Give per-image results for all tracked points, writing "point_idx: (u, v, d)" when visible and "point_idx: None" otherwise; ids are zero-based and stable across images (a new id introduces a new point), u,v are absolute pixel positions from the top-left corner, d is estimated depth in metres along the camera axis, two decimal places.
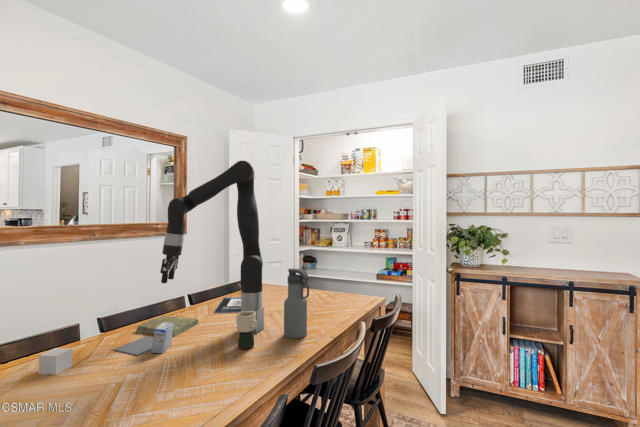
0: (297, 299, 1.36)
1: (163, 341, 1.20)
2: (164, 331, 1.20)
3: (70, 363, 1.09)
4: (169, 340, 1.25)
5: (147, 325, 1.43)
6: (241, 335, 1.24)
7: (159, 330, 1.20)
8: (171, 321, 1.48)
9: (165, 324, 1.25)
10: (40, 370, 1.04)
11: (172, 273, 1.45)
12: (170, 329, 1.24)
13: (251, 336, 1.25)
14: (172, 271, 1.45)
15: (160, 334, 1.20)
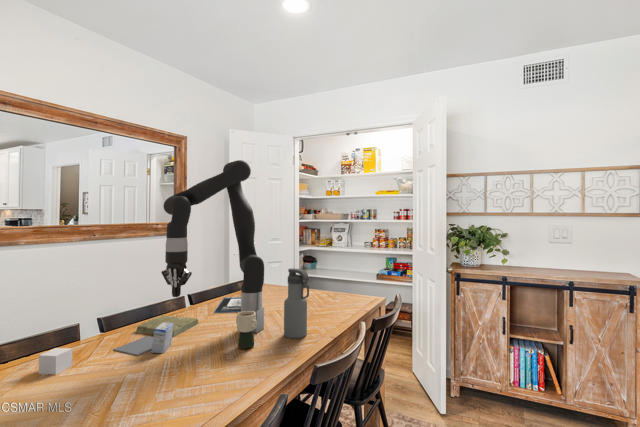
0: (297, 299, 1.36)
1: (163, 341, 1.20)
2: (164, 331, 1.20)
3: (70, 363, 1.09)
4: (169, 340, 1.25)
5: (147, 325, 1.43)
6: (241, 335, 1.24)
7: (159, 330, 1.20)
8: (171, 321, 1.48)
9: (165, 324, 1.25)
10: (40, 370, 1.04)
11: None
12: (170, 329, 1.24)
13: (251, 336, 1.25)
14: None
15: (160, 334, 1.20)
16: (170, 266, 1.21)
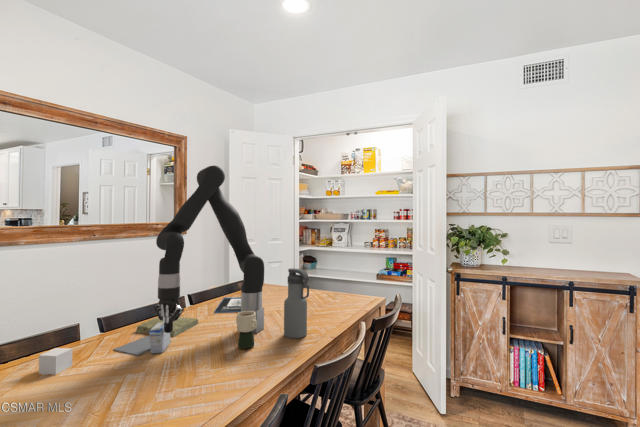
0: (297, 299, 1.36)
1: (160, 341, 1.19)
2: (159, 331, 1.19)
3: (70, 363, 1.09)
4: (167, 338, 1.25)
5: (147, 325, 1.43)
6: (241, 335, 1.24)
7: (154, 331, 1.19)
8: None
9: (160, 324, 1.24)
10: (40, 370, 1.04)
11: None
12: None
13: (251, 336, 1.25)
14: None
15: (156, 335, 1.19)
16: (162, 302, 1.21)
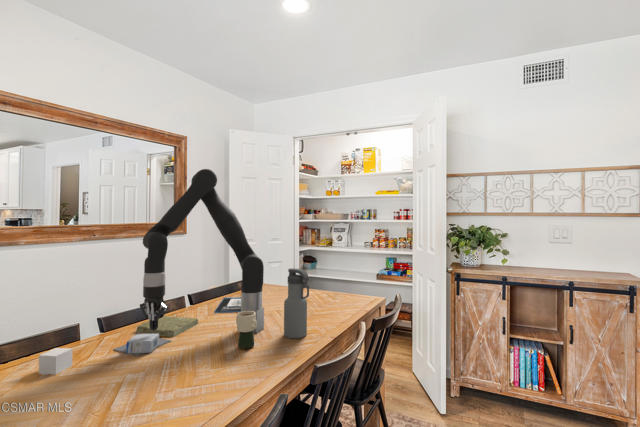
0: (297, 299, 1.36)
1: (138, 342, 1.19)
2: (127, 343, 1.19)
3: (70, 363, 1.09)
4: (149, 335, 1.24)
5: (147, 325, 1.43)
6: (241, 335, 1.24)
7: (127, 348, 1.19)
8: (171, 321, 1.48)
9: None
10: (40, 370, 1.04)
11: None
12: (136, 336, 1.23)
13: (251, 336, 1.25)
14: None
15: (131, 346, 1.19)
16: (148, 300, 1.24)
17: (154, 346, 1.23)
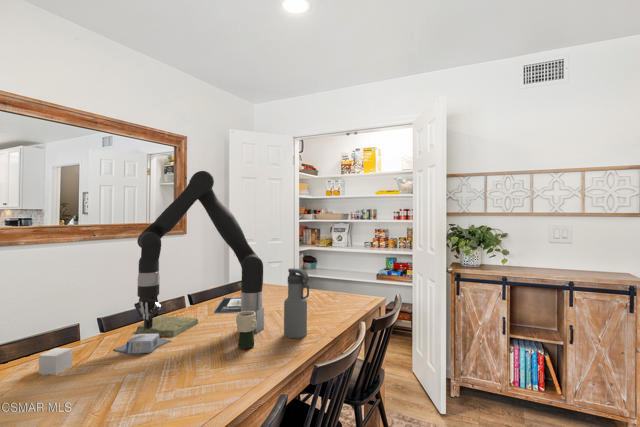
0: (297, 299, 1.36)
1: (138, 342, 1.19)
2: (127, 343, 1.19)
3: (70, 363, 1.09)
4: (149, 335, 1.24)
5: None
6: (241, 335, 1.24)
7: (127, 348, 1.19)
8: (171, 321, 1.48)
9: None
10: (40, 370, 1.04)
11: None
12: (136, 336, 1.23)
13: (251, 336, 1.25)
14: None
15: (131, 346, 1.19)
16: (142, 299, 1.26)
17: (154, 346, 1.23)
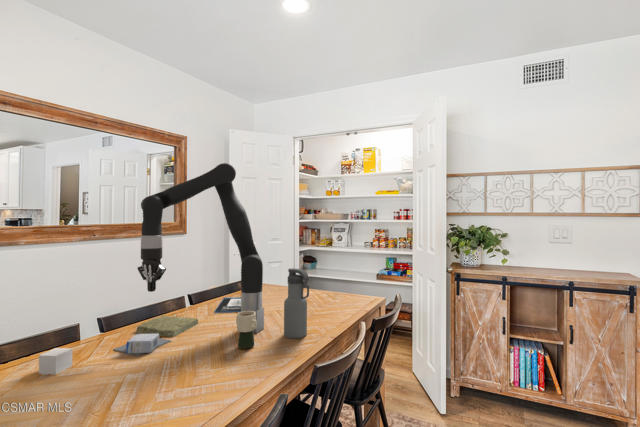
0: (297, 299, 1.36)
1: (138, 342, 1.19)
2: (127, 343, 1.19)
3: (70, 363, 1.09)
4: (149, 335, 1.24)
5: (147, 325, 1.43)
6: (241, 335, 1.24)
7: (127, 348, 1.19)
8: (171, 321, 1.48)
9: None
10: (40, 370, 1.04)
11: None
12: (136, 336, 1.23)
13: (251, 336, 1.25)
14: None
15: (131, 346, 1.19)
16: (145, 262, 1.27)
17: (154, 346, 1.23)
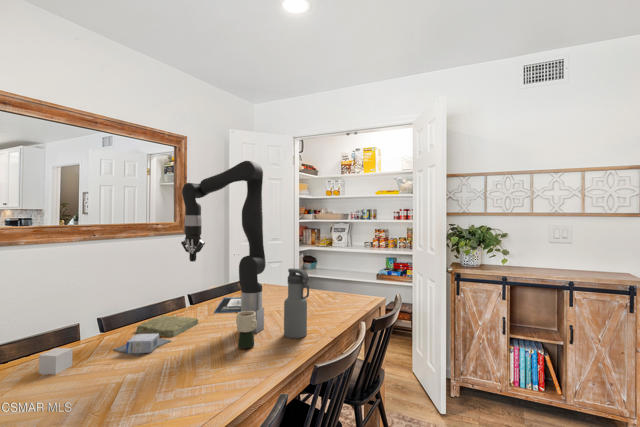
0: (297, 299, 1.36)
1: (138, 342, 1.19)
2: (127, 343, 1.19)
3: (70, 363, 1.09)
4: (149, 335, 1.24)
5: (147, 325, 1.43)
6: (241, 335, 1.24)
7: (127, 348, 1.19)
8: (171, 321, 1.48)
9: None
10: (40, 370, 1.04)
11: None
12: (136, 336, 1.23)
13: (251, 336, 1.25)
14: None
15: (131, 346, 1.19)
16: (188, 237, 1.56)
17: (154, 346, 1.23)
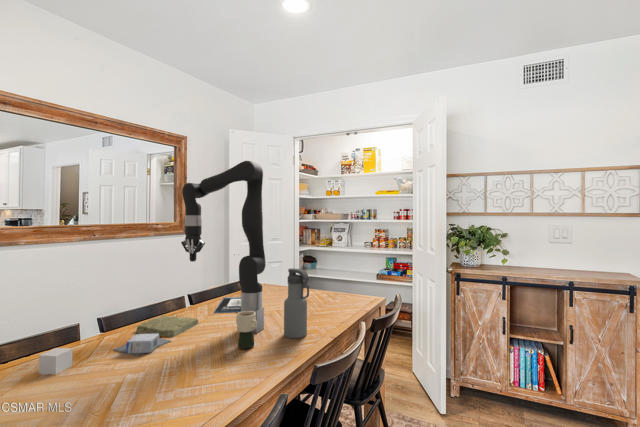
0: (297, 299, 1.36)
1: (138, 342, 1.19)
2: (127, 343, 1.19)
3: (70, 363, 1.09)
4: (149, 335, 1.24)
5: (147, 325, 1.43)
6: (241, 335, 1.24)
7: (127, 348, 1.19)
8: (171, 321, 1.48)
9: None
10: (40, 370, 1.04)
11: None
12: (136, 336, 1.23)
13: (251, 336, 1.25)
14: None
15: (131, 346, 1.19)
16: (188, 237, 1.56)
17: (154, 346, 1.23)
